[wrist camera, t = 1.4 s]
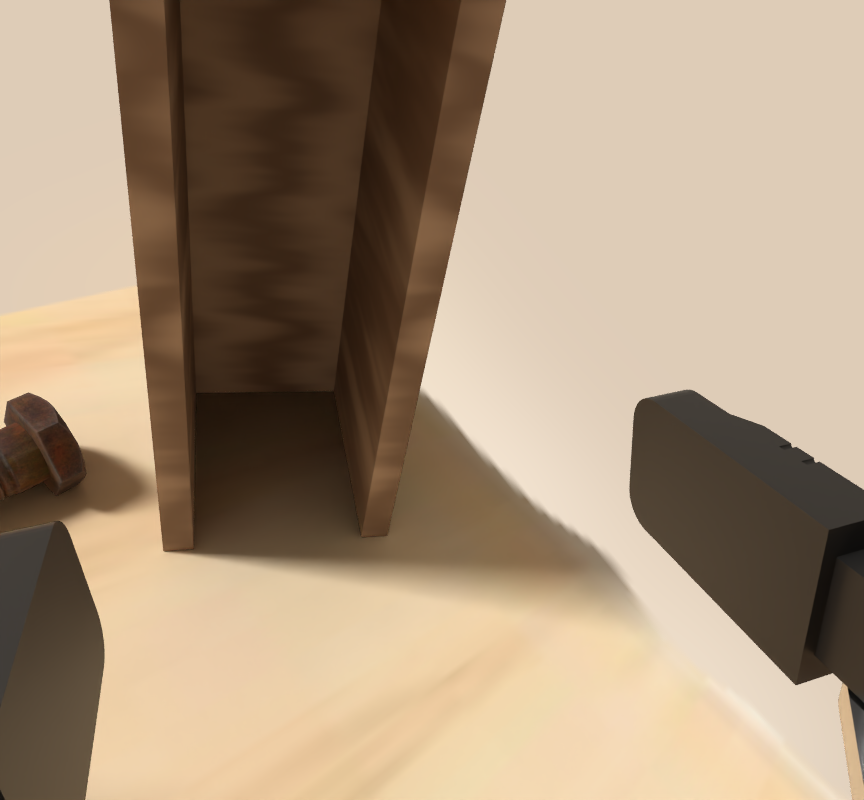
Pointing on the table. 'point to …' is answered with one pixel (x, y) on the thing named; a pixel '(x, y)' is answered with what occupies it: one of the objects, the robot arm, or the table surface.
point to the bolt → (37, 448)
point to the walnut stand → (295, 210)
